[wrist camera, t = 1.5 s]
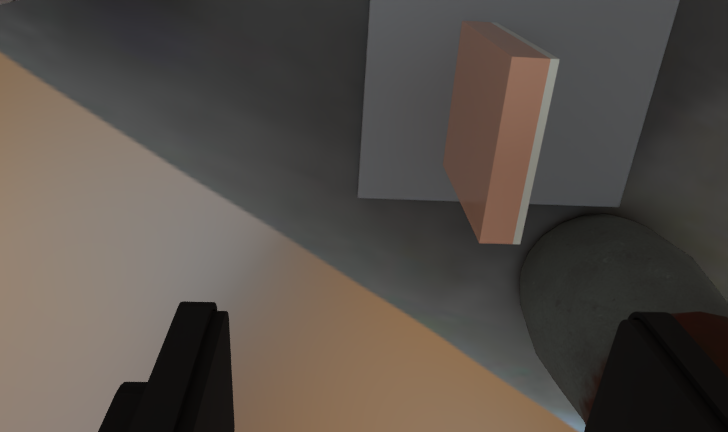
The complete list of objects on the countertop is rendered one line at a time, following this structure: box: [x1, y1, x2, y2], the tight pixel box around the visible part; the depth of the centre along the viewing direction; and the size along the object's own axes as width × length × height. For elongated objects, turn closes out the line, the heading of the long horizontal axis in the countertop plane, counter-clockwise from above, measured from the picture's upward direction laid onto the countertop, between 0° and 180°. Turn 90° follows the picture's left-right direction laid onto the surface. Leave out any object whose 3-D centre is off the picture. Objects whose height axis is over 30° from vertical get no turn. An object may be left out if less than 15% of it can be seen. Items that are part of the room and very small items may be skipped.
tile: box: [443, 21, 560, 244], centre depth 24 cm, size 2×7×8 cm, turn 176°
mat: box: [357, 0, 680, 207], centre depth 28 cm, size 14×11×1 cm
